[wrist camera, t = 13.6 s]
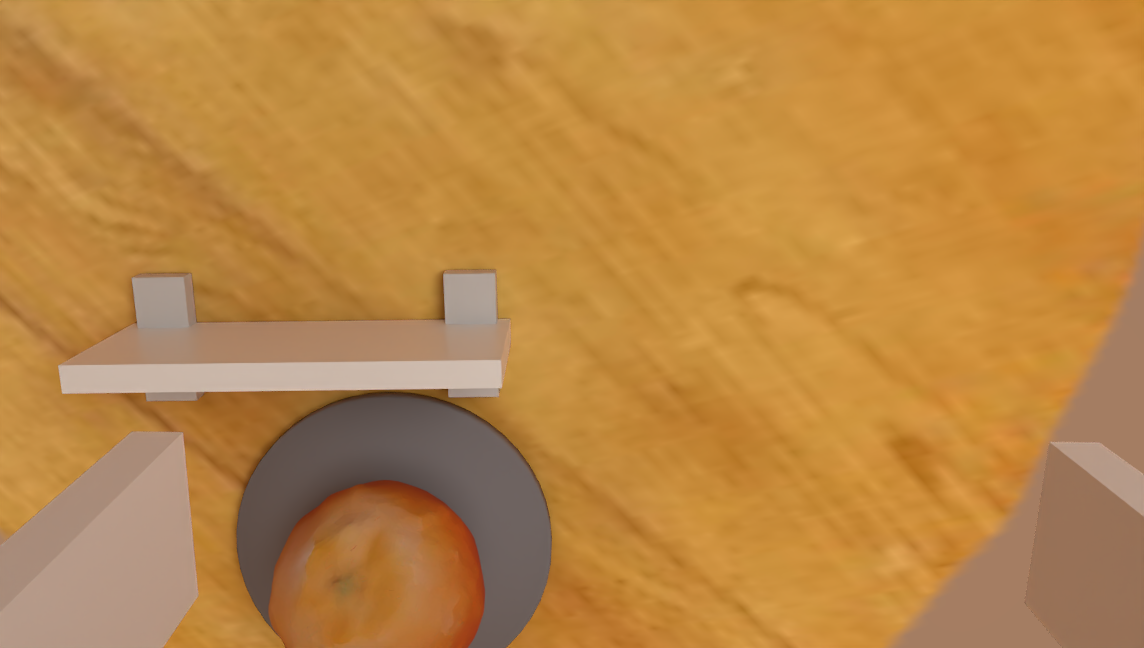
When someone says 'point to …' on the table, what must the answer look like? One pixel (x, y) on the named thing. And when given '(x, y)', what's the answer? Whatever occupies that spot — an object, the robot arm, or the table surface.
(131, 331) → the wall
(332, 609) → the fruit
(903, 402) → the table surface
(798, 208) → the table surface
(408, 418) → the mat
